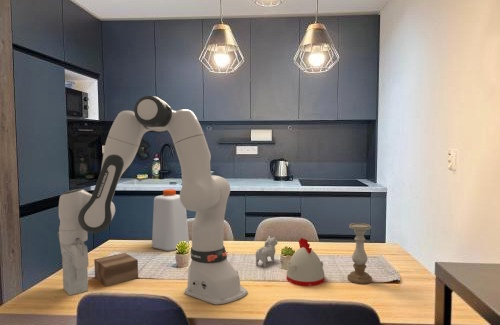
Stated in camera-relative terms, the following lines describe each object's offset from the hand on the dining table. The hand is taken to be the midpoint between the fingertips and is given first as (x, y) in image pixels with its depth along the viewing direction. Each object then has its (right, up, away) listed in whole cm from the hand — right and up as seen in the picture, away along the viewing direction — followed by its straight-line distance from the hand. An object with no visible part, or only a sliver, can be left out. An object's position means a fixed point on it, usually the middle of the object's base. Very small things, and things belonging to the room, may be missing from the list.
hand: (75, 275), depth 128 cm
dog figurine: (+68, -3, +27) cm, 73 cm away
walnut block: (+10, -5, +11) cm, 16 cm away
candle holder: (+101, -4, +7) cm, 102 cm away
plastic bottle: (+22, -2, +53) cm, 57 cm away
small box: (0, -6, 0) cm, 6 cm away
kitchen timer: (+82, -4, +8) cm, 82 cm away
